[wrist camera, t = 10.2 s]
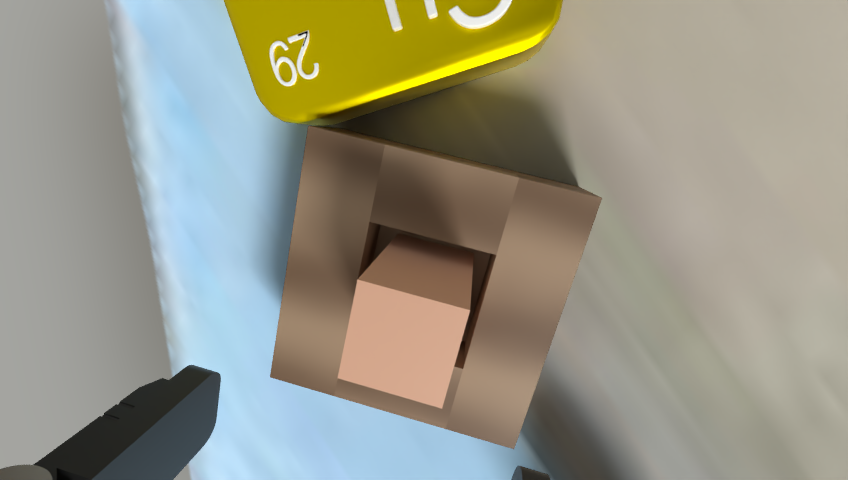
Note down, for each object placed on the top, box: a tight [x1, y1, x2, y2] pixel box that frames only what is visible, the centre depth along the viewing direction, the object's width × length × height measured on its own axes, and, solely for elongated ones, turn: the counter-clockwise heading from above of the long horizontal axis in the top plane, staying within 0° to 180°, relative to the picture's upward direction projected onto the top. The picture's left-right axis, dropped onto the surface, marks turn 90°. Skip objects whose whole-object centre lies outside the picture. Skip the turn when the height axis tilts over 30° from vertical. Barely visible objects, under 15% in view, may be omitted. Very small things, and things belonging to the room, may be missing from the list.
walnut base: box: [270, 126, 602, 449], centre depth 23 cm, size 14×14×4 cm
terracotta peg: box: [338, 233, 474, 409], centre depth 20 cm, size 4×4×8 cm
